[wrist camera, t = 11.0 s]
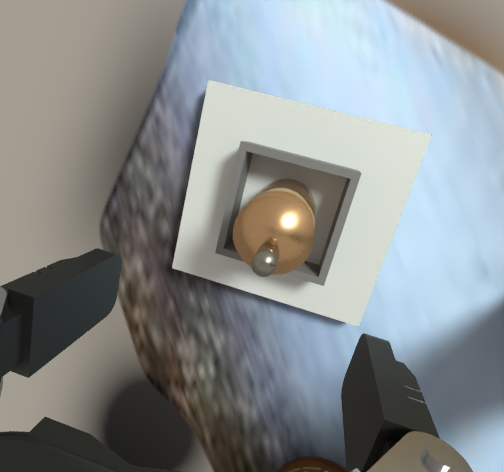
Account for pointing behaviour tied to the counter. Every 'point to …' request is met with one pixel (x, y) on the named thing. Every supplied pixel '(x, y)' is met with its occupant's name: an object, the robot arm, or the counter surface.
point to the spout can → (276, 228)
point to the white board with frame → (314, 178)
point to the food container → (312, 465)
